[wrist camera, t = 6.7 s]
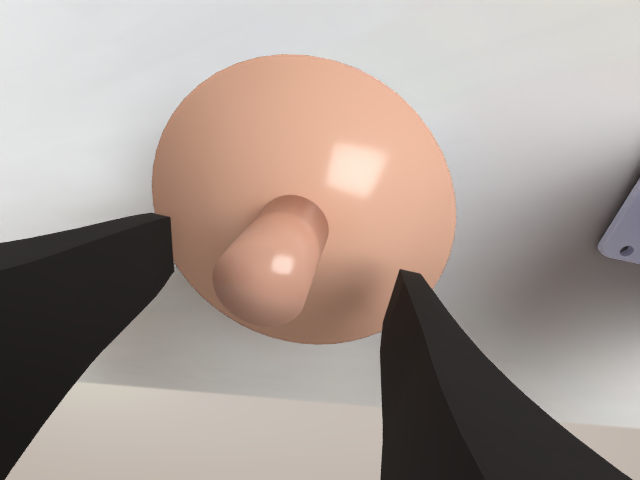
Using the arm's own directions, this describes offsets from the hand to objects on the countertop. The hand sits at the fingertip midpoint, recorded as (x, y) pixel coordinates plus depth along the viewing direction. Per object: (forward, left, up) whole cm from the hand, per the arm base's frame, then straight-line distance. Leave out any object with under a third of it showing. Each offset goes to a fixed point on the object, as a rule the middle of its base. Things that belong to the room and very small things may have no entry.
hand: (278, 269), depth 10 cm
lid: (0, -1, -2) cm, 2 cm away
